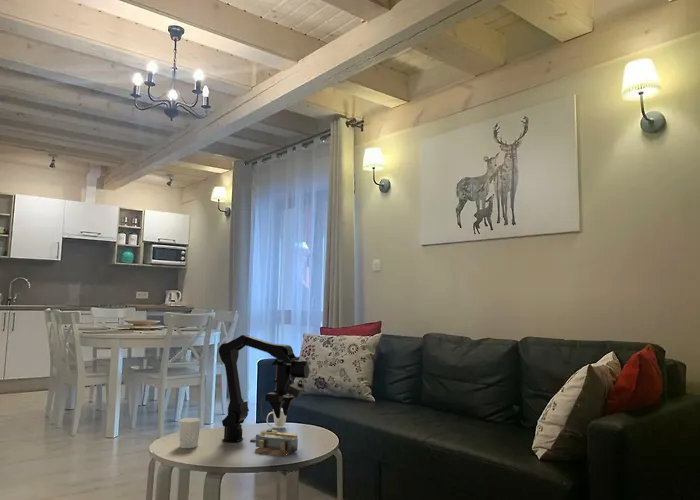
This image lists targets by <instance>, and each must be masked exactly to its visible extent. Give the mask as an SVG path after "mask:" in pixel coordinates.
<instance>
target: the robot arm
mask: <svg viewBox="0 0 700 500" xmlns="http://www.w3.org/2000/svg"><path fill="white" fill-rule="evenodd" d="M245 347H249V348H252V349H255V350H258V351H262V352H264V353H267V354H269V356H271V357H273V358H275V360H273V362H272V363H271V366H276V367H275V368H276V371H275V379H273V382H274V383H275V389H273V392H268V393H266V394H265V395H264V402H268V403H269V404H270V405H271V409H272V411H273V410H274V413H275V415H276V417H277V418H280V413H281V408H283V413H284V415H285V416H286V417H287V416H288V412H289V409H290V407H291V404H292V402H293V401H294V400H295V399H296V398H300V397H302V395H303V393H304V392H305V384H304V383H303V382H302V383H301V382H299V383H298V384H296V383H294V380H293V378H295V379H308V378H309V375H310V365H309V364H308V362H309V361H308V360H298V358H297V356H296V355H295V353H294V349H293V348H292V347H293V346H291V345H288V344H284V343H283V344H281V343H273V342H269V341H266V340H264V339H259V338H257V337H255V336H250V335H249V334H240V336H238V337H236V338H235V339H232V340H230V341H229V342H223V343H221V345H219V348H218V354H219V357H220V360H221V362H222V363H223V364H224V367H225V368H224V369H225V374H226V382H227V388H228V396H229V402H228V406H227V415H226V416H225V418H224V419H223V420H221V424H222V427H223V428H224V430H223V432H224V433H223V434H224V435H223V438H222V439H221V442H227V443H237V442H239V441H242V440H244V437H243V428H242V427H243V423H244V422H245V420H246V419H247V417H248V415H249V412H250V409H249V403H248V402H249V401H244V399H243V398H242V392H241V384H240V377H239V371H238V359H239V354H240V352H239V351H240V350H243V348H245ZM291 377H292V378H291Z"/></svg>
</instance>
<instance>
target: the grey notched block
mask: <svg viewBox="0 0 700 500" xmlns="http://www.w3.org/2000/svg"><path fill="white" fill-rule="evenodd" d="M255 437H256V442H255V447H256V448H259V441H260V440H264V448H270V449H278V450H280V448H281V443H285V450H286V451H293V452H296V451H297V452H298V446H299V445H298V441H299V440H298V437H297V438H291V437H283V436H274V435H265V434H261V433H259V434H258V433H257V434H255Z"/></svg>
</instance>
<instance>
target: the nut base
mask: <svg viewBox="0 0 700 500" xmlns="http://www.w3.org/2000/svg"><path fill="white" fill-rule="evenodd" d="M250 442H251V443H256V436H255V437H254V438H250Z"/></svg>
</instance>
